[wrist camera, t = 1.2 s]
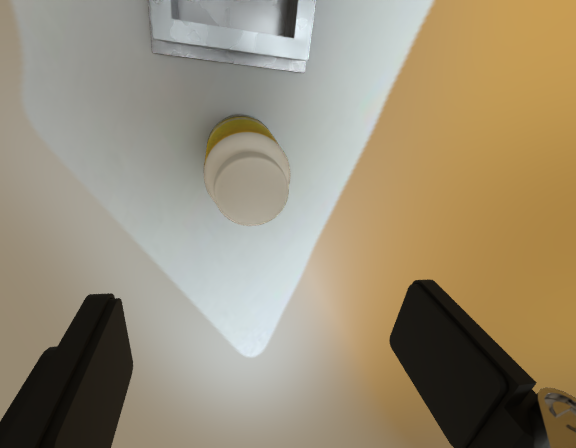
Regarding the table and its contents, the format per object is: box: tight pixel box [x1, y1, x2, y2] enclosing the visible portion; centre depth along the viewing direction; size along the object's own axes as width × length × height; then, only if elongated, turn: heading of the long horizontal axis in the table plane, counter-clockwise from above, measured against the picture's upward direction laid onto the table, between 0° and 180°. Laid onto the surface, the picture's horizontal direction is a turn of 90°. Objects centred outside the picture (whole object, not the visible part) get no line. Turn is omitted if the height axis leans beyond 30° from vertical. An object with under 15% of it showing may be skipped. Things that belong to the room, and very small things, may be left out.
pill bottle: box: [204, 115, 290, 226], centre depth 23 cm, size 6×6×11 cm
